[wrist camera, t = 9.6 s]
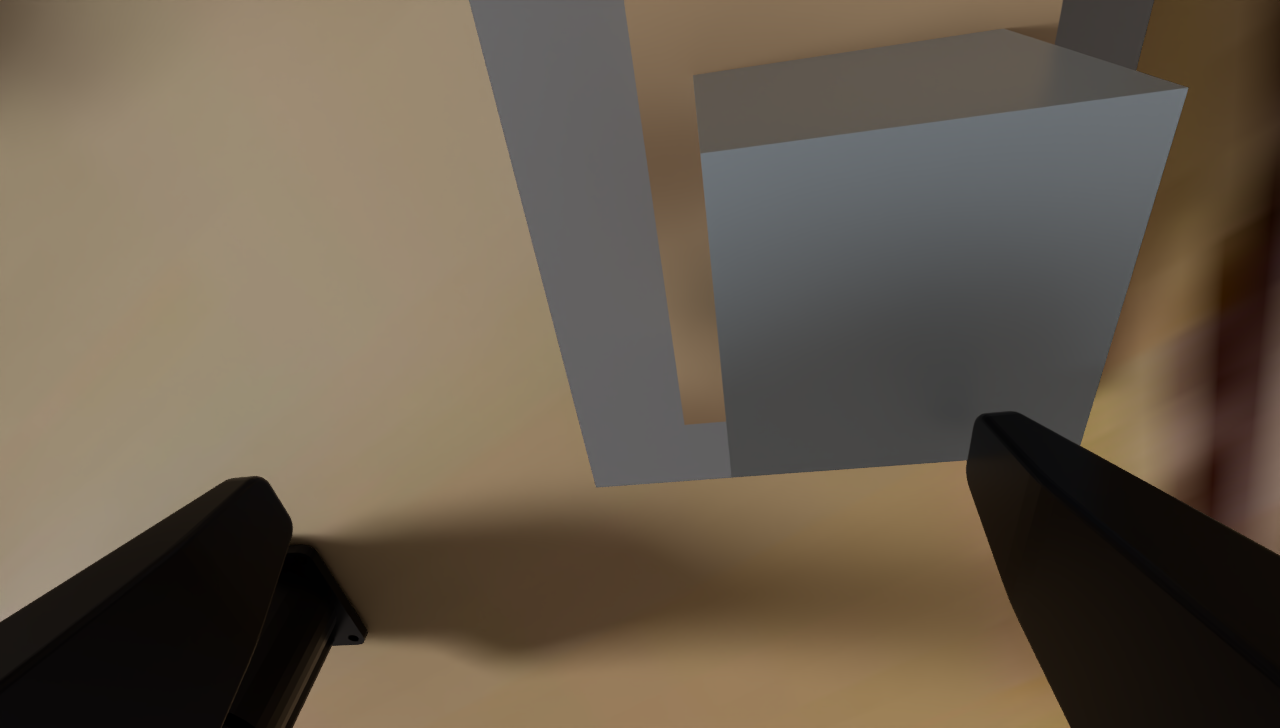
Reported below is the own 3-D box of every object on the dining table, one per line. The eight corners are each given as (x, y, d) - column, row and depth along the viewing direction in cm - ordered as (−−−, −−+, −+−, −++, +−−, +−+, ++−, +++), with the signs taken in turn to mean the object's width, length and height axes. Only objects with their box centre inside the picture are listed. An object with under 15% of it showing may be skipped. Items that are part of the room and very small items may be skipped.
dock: (995, 392, 21) (1041, 459, 18) (605, 425, 23) (595, 492, 20) (1192, -631, 10) (1376, -829, 7) (406, -424, 12) (327, -525, 9)
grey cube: (963, 301, 12) (1078, 452, 8) (716, 326, 12) (731, 477, 9) (1004, 28, 9) (1187, 87, 6) (693, 75, 10) (700, 153, 6)
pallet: (923, 301, 16) (987, 399, 13) (683, 326, 17) (684, 425, 13) (973, -158, 11) (1099, -194, 8) (629, -94, 12) (609, -101, 8)
